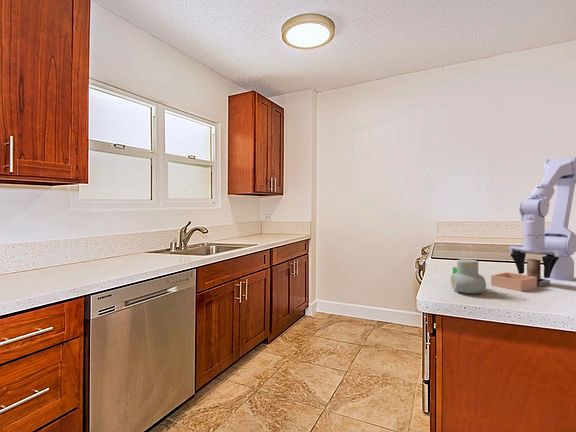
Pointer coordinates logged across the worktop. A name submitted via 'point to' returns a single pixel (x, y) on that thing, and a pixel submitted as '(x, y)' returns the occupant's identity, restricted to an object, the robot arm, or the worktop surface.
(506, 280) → the terracotta bin
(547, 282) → the metal socket
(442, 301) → the worktop surface
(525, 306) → the worktop surface
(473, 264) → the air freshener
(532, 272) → the walnut strut
